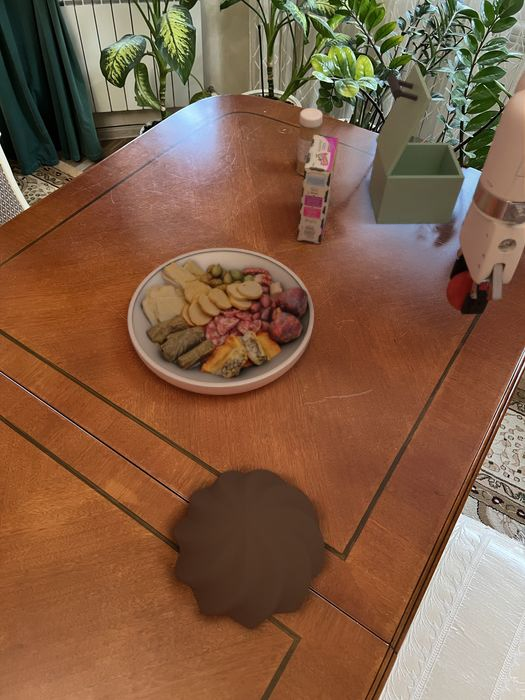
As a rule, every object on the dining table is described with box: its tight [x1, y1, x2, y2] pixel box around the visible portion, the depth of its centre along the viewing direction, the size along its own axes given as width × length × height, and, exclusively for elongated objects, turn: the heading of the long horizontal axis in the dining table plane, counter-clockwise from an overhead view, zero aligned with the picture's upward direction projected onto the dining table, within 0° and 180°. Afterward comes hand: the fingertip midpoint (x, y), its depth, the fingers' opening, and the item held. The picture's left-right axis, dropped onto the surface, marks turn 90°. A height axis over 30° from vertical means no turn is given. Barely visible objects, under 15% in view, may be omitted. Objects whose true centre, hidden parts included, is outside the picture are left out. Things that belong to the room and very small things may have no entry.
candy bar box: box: [296, 134, 340, 245], centre depth 107 cm, size 11×5×16 cm, turn 168°
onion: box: [445, 271, 488, 312], centre depth 84 cm, size 6×6×8 cm
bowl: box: [127, 247, 315, 396], centre depth 93 cm, size 30×30×8 cm
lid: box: [375, 63, 433, 176], centre depth 102 cm, size 15×12×5 cm
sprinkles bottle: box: [296, 107, 324, 177], centre depth 119 cm, size 5×5×14 cm
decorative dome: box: [172, 468, 326, 630], centre depth 70 cm, size 19×20×10 cm
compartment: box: [367, 142, 466, 225], centre depth 114 cm, size 15×12×11 cm
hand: (465, 294), depth 84 cm, fingers closed on onion, 5 cm apart
